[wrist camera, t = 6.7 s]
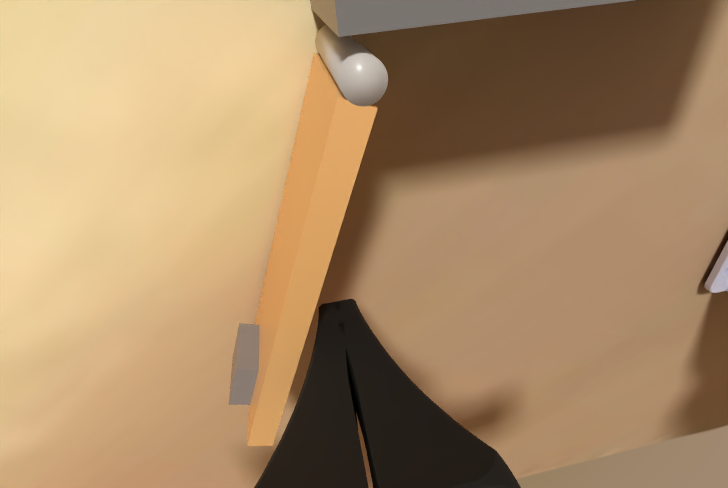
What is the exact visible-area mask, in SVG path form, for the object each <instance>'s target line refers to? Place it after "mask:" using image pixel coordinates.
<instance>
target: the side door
mask: <svg viewBox="0 0 728 488" xmlns="http://www.w3.org/2000/svg"><path fill="white" fill-rule="evenodd" d="M315 44H316V48H317V51H318V52H319V54H320V55H318V54H315V53H314V56H313V61H312V65H311V70H310V75H309V79H308V84H307V88H306V93H305V97H304V102H303V106H302V111H301V116H300V120H299V125H298V129H297V134H296V138H295V143H294V148H293V152H292V157H291V161H290V166H289V170H288V175H287V180H286V184H285V189H284V193H283V198H282V202H281V207H280V211H279V216H278V221H277V225H276V230H275V234H274V239H273V243H272V248H271V253H270V257H269V262H268V266H267V271H266V275H265V280H264V285H263V289H262V294H261V298H260V303H259V307H258V312H257V316H256V321H255V325H253V324H240V323H239V328H238V333H237V338H236V344H235V349H234V354H233V361H232V373H231V385H230V397H229V404H233V405H249V419H248V445H247V446H273V443H274V440H275V436H276V433H277V430H278V427H279V424H280V420H281V417H282V414H283V411H284V408H285V404H286V401H287V398H288V395H289V392H290V388H291V385H292V382H293V379H294V375H295V372H296V369H297V366H298V363H299V359H300V356H301V353H302V350H303V347H304V343H305V340H306V337H307V334H308V331H309V327H310V324H311V321H312V318H313V315H314V311H315V308H316V305H317V302H318V299H319V295H320V292H321V289H322V286H323V282H324V279H325V276H326V273H327V270H328V266H329V263H330V260H331V257H332V254H333V250H334V247H335V244H336V241H337V238H338V234H339V231H340V228H341V225H342V222H343V218H344V215H345V212H346V209H347V206H348V202H349V199H350V196H351V193H352V189H353V186H354V183H355V180H356V177H357V173H358V170H359V167H360V164H361V161H362V157H363V154H364V151H365V148H366V145H367V141H368V138H369V135H370V132H371V129H372V125H373V122H374V119H375V116H376V113H377V109H378V108H377V107H376V105H375V104H374V103H376V102H377V101H379V100H380V99H381V98H382V96H383V95H384V93H385V91H386V89H387V85H388V74H387V71H386V68H385V66H384V65H383V63H382V62H381V61H380V60H379V59H377V58H376V57H375V56H374V55H373V54H372V53H370V52H369V51H368V50H367V49H366V48H365V47H363V46H362V45H361V44H360V43H359V42H358V41H356V40H355V39H354V38H353V37H352V36H343V37H338V36H337V35H336V34H335V33H334V32H333V31H332V30H331V29H330V28H329V27H328V26H327V25H324V26H323V27H321V28H320V29H319V31H318V32H317V35H316V39H315Z"/></svg>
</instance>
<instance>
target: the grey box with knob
mask: <svg viewBox="0 0 728 488" xmlns="http://www.w3.org/2000/svg"><path fill="white" fill-rule="evenodd" d="M310 1H311V8H312V10H313V11H314V12H315V13H316V14H317V15H318V17H319V18H320V19H321V20H322V21H323V22H324V23H325V24H326V25H327V26H328V27H329V28H330V29H331V30H332V31H333V32H334V33H335V34H336V35H337V36H338V37H343V36H351V35H359V34H367V33H375V32H383V31H391V30H399V29H407V28H415V27H423V26H432V25H440V24H448V23H456V22H464V21H472V20H480V19H488V18H496V17H504V16H512V15H520V14H528V13H537V12H545V11H553V10H561V9H569V8H577V7H585V6H593V5H601V4H609V3H617V2H625V1H634V0H310Z"/></svg>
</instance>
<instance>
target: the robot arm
mask: <svg viewBox="0 0 728 488" xmlns="http://www.w3.org/2000/svg"><path fill="white" fill-rule="evenodd" d="M705 288H706V289H707V290H708V291H710V292H711V293H717V292H722V291H727V292H728V241H727V243H726V244H725V246H724V248H723V250H722V252H721V254H720V256H719V258H718V260H717V262H716V263H715V265H714V267H713V269H712V271H711V273H710V275H709V277H708V279H707V281H706V282H705ZM356 413H357V416H358V420H359V423H360V427H361V430H362V434H363V438H364V442H365V446H366V451H367V456H368V461H369V466H370V472H371V477H372V482H373V488H521V487H520V486H519V484H518V482H517V480H516V478H515V477H514V475H513V474H512V472H511V470H510V469H509V467H508V466H507V464H506V463H505V462H504V460H503V459H502V458H501V456H500V455H499V454H498V452H497V451H496V450H494V449H493V448H491V447H490V446H488V445H487V444H485V443H484V442H483V441H481V440H480V439H478V438H477V437H476V436H474V435H473V434H472V433H470V432H469V431H468V430H466V429H465V428H464V427H462V426H461V425H460V424H459V423H457V422H456V421H455V420H454V419H452V418H451V417H450V416H449V415H448V414H447V413H445V412H444V411H443V410H442V409H441V408H440V407H439V406H437V405H436V404H435V403H434V402H433V401H432V400H431V399H429V398H428V397H427V396H426V395H425V394H424V393H423V392H422V391H421V390H420V389H419V388H418V387H417V386H416V385H415V384H414V383H413V382H412V381H411V380H410V379H409V378H408V376H407V375H406V374H405V373H404V372H403V371H402V370H401V369H400V368H399V366H398V365H397V364H396V363H395V362H394V360H393V359H392V358H391V357H390V355H389V354H388V353H387V352H386V350H385V349H384V348H383V346H382V345H381V344H380V342H379V341H378V339H377V338H376V337H375V335H374V334H373V332H372V331H371V329H370V328H369V326H368V324H367V323H366V321H365V320H364V318H363V316H362V314H361V312H360V310H359V308H358V306H357V304H356V301H355V300H353V299H348V300H342V301H337V302H332V303H327V304H322V305H321V306H320V307H319V320H318V328H317V334H316V340H315V344H314V349H313V353H312V357H311V361H310V365H309V368H308V371H307V375H306V378H305V381H304V384H303V387H302V390H301V393H300V396H299V398H298V401H297V404H296V406H295V409H294V411H293V413H292V416H291V418H290V420H289V423H288V425H287V427H286V429H285V432H284V434H283V436H282V438H281V440H280V442H279V444H278V446H277V448H276V450H275V452H274V453H273V455H272V457H271V459H270V461H269V463H268V465H267V467H266V468H265V470H264V472H263V474H262V476H261V477H260V479H259V481H258V482H257V484H256V486H255V487H254V488H368V482H367V477H366V472H365V466H364V461H363V456H362V451H361V445H360V440H359V435H358V426H357V416H356Z"/></svg>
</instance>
